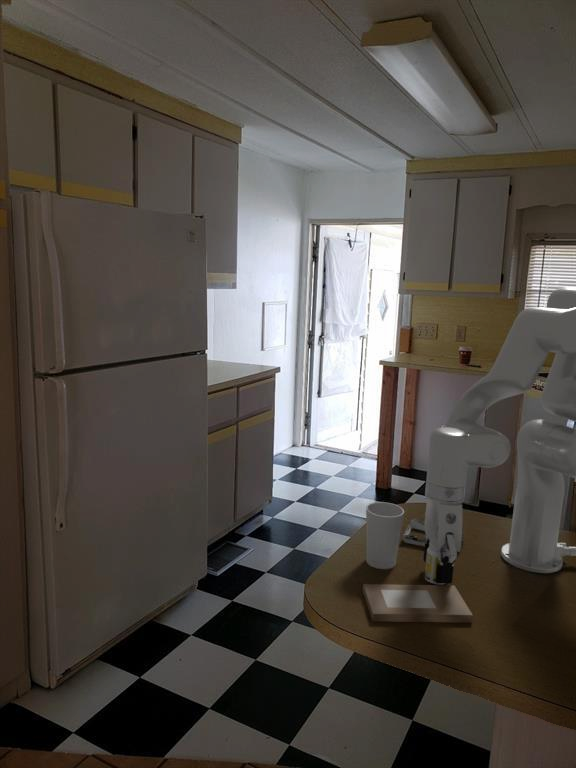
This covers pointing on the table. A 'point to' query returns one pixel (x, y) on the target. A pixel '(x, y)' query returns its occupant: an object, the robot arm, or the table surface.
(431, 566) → the supplement bottle
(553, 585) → the table surface
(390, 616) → the board
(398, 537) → the cup
